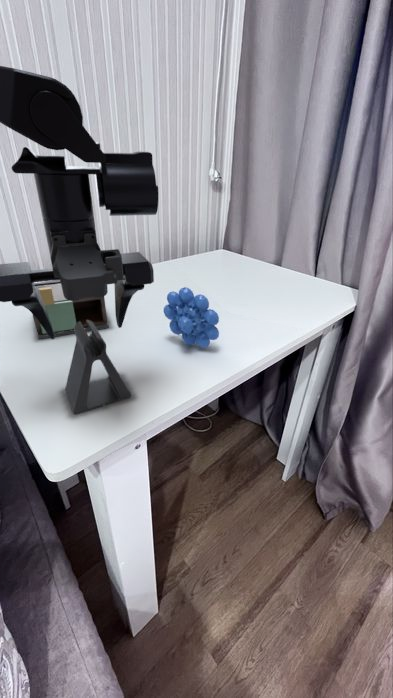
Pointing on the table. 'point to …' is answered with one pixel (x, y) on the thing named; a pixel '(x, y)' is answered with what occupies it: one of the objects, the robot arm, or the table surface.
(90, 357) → the phone stand
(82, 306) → the cabinet
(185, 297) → the grapes
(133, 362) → the table surface
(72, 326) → the door
